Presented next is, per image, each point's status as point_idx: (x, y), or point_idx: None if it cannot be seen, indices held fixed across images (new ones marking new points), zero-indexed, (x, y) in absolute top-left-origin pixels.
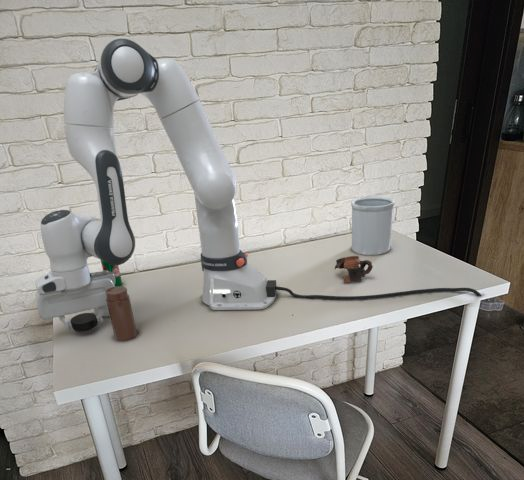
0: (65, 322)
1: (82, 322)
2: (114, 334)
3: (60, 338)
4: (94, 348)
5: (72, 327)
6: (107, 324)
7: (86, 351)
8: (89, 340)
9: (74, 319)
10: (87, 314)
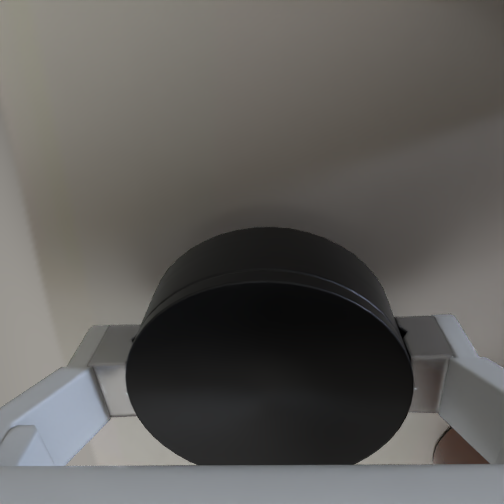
0: (81, 443)
1: (251, 463)
2: None
3: (61, 298)
4: None
5: None
6: (469, 234)
7: None
8: None
9: (169, 382)
10: (328, 339)
